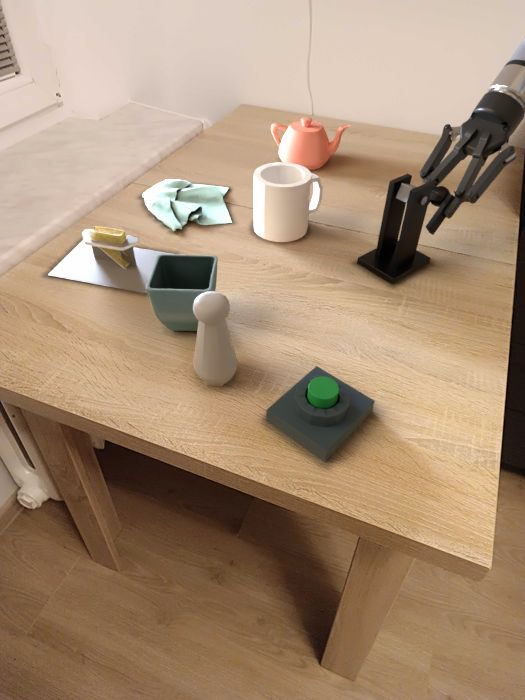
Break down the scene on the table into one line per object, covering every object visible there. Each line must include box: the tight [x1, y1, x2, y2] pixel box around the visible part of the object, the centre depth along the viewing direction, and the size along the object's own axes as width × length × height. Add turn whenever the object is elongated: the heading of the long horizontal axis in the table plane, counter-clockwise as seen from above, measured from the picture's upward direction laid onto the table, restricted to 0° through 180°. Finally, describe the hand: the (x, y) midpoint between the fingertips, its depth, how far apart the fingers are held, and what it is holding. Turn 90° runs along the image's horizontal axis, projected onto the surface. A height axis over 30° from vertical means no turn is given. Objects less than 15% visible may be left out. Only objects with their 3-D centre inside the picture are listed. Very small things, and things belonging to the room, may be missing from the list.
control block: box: [265, 365, 376, 463], centre depth 61 cm, size 10×9×4 cm
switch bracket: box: [356, 173, 433, 285], centre depth 82 cm, size 10×8×15 cm
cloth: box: [141, 178, 233, 232], centre depth 100 cm, size 20×22×2 cm
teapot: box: [270, 116, 351, 171], centre depth 114 cm, size 12×18×10 cm
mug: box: [253, 161, 324, 243], centre depth 92 cm, size 14×10×11 cm
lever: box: [396, 183, 451, 208], centre depth 82 cm, size 13×3×3 cm, turn 129°
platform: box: [47, 225, 176, 294], centre depth 84 cm, size 12×18×7 cm, turn 74°
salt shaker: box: [192, 290, 239, 387], centre depth 63 cm, size 6×6×13 cm
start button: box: [307, 377, 339, 409], centre depth 59 cm, size 4×4×2 cm
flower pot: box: [146, 253, 219, 332], centre depth 72 cm, size 9×9×9 cm
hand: (419, 225), depth 86 cm, fingers closed on lever, 3 cm apart
